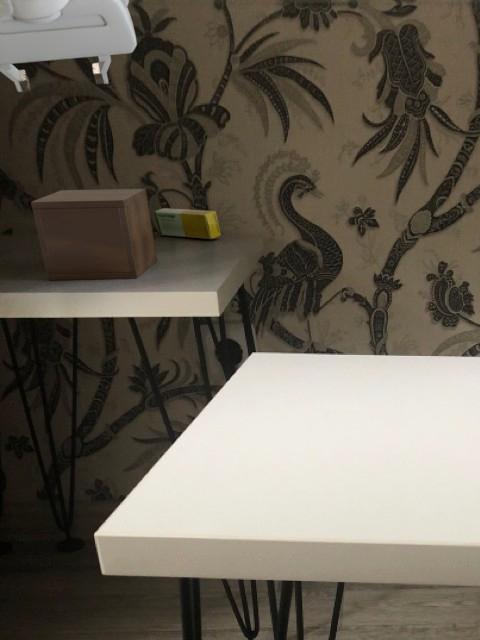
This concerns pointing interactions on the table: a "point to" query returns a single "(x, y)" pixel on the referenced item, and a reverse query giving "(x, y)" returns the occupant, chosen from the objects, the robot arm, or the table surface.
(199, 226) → the medication box
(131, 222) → the wooden box
